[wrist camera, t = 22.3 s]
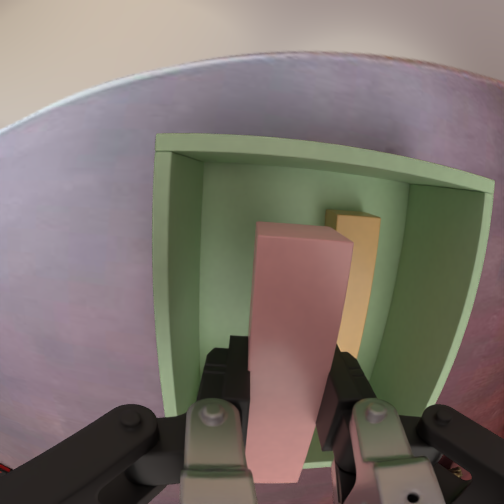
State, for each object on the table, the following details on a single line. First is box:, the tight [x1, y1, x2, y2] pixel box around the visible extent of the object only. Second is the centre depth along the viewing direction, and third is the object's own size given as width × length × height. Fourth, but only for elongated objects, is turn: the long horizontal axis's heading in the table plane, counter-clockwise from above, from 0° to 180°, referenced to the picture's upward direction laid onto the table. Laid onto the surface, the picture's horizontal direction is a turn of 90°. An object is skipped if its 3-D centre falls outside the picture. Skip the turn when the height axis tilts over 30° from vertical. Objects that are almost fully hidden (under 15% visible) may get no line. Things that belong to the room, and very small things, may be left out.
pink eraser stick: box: [245, 221, 354, 483], centre depth 10 cm, size 10×2×2 cm, turn 176°
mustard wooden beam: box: [325, 209, 381, 359], centre depth 17 cm, size 10×2×2 cm, turn 177°
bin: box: [152, 133, 495, 469], centre depth 15 cm, size 15×13×8 cm
